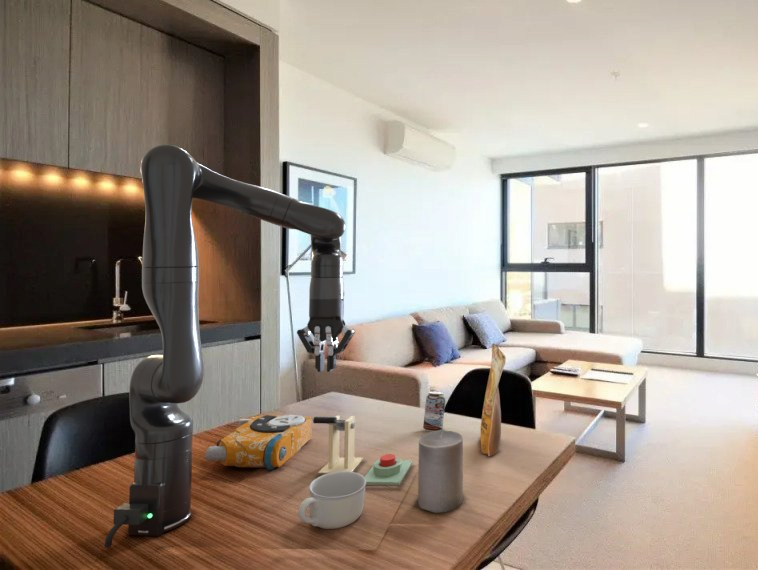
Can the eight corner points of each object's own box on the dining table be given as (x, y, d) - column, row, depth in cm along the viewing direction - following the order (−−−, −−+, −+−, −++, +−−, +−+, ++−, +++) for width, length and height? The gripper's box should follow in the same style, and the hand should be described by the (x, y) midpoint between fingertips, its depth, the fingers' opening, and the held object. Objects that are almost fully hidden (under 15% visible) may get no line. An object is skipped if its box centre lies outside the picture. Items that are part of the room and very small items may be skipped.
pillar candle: (457, 488, 105) (458, 422, 106) (466, 509, 96) (467, 437, 96) (415, 494, 102) (416, 427, 103) (420, 517, 93) (421, 442, 94)
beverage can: (419, 433, 140) (419, 394, 140) (430, 425, 147) (430, 388, 147) (438, 435, 138) (438, 396, 138) (448, 427, 145) (448, 389, 145)
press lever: (333, 425, 104) (335, 414, 105) (312, 425, 104) (314, 414, 105) (352, 431, 116) (354, 421, 117) (333, 431, 116) (335, 421, 117)
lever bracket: (350, 477, 110) (351, 424, 111) (317, 477, 111) (318, 424, 111) (363, 462, 119) (364, 412, 120) (333, 461, 120) (334, 412, 120)
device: (184, 442, 111) (252, 405, 141) (183, 477, 111) (252, 432, 141) (277, 442, 111) (326, 405, 141) (277, 476, 111) (325, 432, 141)
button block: (399, 489, 104) (399, 474, 105) (360, 489, 105) (360, 473, 105) (412, 466, 116) (412, 453, 117) (377, 466, 117) (377, 452, 117)
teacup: (347, 502, 99) (348, 465, 99) (376, 520, 92) (377, 480, 92) (281, 531, 88) (282, 489, 88) (309, 554, 81) (309, 508, 81)
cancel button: (392, 467, 109) (392, 460, 109) (378, 467, 109) (378, 460, 109) (397, 461, 112) (397, 454, 112) (382, 461, 113) (382, 453, 113)
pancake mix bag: (502, 432, 141) (502, 342, 142) (505, 458, 122) (506, 353, 123) (480, 433, 140) (480, 342, 141) (480, 459, 121) (481, 353, 122)
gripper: (289, 297, 103) (288, 374, 102) (349, 297, 102) (348, 375, 102) (305, 295, 110) (304, 367, 110) (361, 295, 110) (360, 367, 109)
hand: (325, 370), depth 106 cm, fingers closed
